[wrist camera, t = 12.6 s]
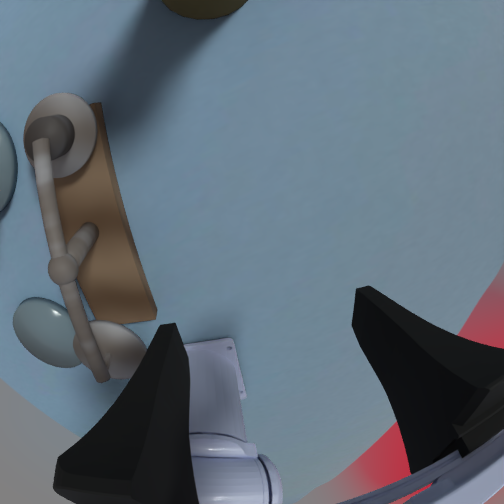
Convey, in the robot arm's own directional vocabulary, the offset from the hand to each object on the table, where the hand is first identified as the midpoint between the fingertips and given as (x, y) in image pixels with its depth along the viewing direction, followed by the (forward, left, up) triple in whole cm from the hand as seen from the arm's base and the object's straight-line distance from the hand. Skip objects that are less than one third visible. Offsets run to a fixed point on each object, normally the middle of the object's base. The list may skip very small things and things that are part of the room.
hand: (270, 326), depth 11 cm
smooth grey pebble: (-7, +19, -10) cm, 23 cm away
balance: (+2, +10, -10) cm, 15 cm away
